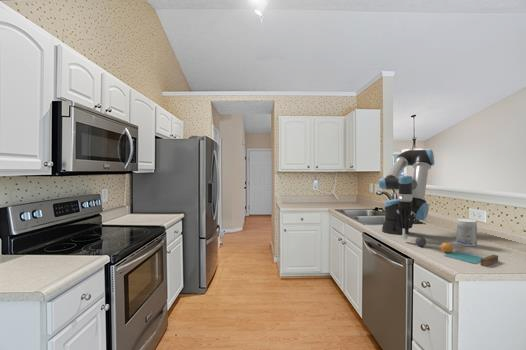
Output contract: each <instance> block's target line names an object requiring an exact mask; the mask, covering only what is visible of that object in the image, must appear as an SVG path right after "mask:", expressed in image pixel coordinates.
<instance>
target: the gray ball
mask: <svg viewBox="0 0 526 350" xmlns="http://www.w3.org/2000/svg"><path fill="white" fill-rule="evenodd" d="M415 244H416V245H417V246H419V247H424V246H426V244H427V239H425V237H423V236H418V237H416V238H415Z"/></svg>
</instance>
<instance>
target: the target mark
mask: <svg viewBox="0 0 526 350" xmlns="http://www.w3.org/2000/svg"><path fill="white" fill-rule="evenodd" d="M443 257H446V258H447V257H448V258H449V259H454V260H459V261H461V262H466V263H470V264H473V265H476V264H479V263H481V259H482V258H485V257H483V256H480V255H479V256H478V255H474V254H472V253H467V252H462V251H459V250H458V251H452V252H450V253H446V254H444V255H443Z"/></svg>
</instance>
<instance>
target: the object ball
mask: <svg viewBox="0 0 526 350" xmlns="http://www.w3.org/2000/svg"><path fill="white" fill-rule="evenodd" d="M440 249H441V251H442V252H444V253H446V254H450V253H453V249H454V246H453V245H452V244H451V243H449V242H443V243H441V244H440Z"/></svg>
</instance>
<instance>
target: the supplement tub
mask: <svg viewBox="0 0 526 350" xmlns="http://www.w3.org/2000/svg"><path fill="white" fill-rule="evenodd" d="M477 236H478V223H477V220H475V219H470V218H469V219H468V218H457V219H456V244H457V245H459V246H462V247H463V246H464V247H468V248H470V247H472V248H473V247H476V246H477V245H478V244H477V241H478V239H477V238H478V237H477Z"/></svg>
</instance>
